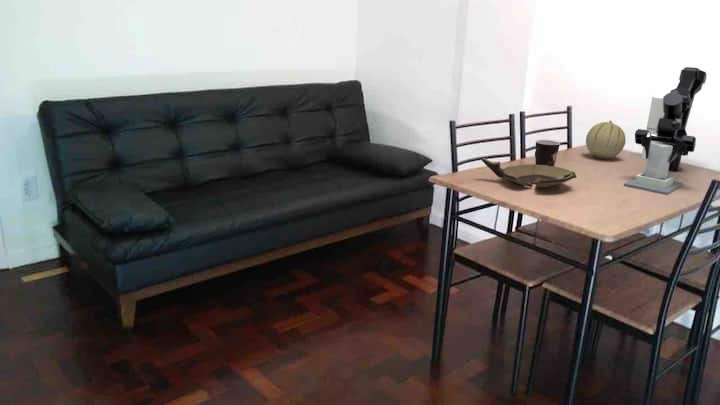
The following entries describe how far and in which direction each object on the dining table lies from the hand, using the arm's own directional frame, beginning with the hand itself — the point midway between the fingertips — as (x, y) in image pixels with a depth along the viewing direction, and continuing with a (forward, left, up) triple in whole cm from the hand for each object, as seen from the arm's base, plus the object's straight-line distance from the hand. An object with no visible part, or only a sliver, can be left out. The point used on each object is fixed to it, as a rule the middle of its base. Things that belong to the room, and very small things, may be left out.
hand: (657, 160), depth 206 cm
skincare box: (-1, 0, -7) cm, 7 cm away
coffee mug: (+9, -37, -9) cm, 39 cm away
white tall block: (-43, -14, -9) cm, 46 cm away
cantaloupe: (-28, -28, -9) cm, 41 cm away
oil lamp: (+31, -31, -9) cm, 45 cm away
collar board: (-1, 0, -9) cm, 9 cm away
